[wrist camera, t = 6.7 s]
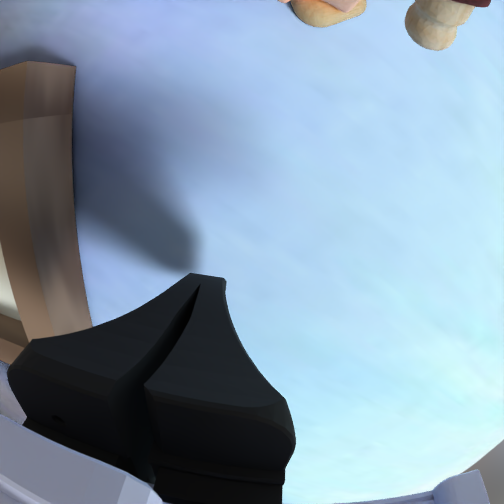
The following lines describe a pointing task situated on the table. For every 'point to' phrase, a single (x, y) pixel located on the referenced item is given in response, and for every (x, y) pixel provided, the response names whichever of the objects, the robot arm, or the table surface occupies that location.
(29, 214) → the picture frame
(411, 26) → the grandmother figurine
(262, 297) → the table surface
